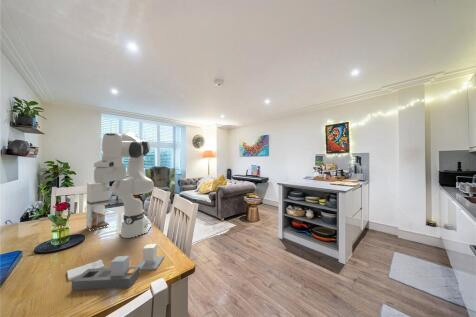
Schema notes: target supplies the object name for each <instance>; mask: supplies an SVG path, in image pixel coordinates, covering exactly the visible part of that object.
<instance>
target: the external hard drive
mask: <svg viewBox="0 0 476 317" xmlns="http://www.w3.org/2000/svg"><path fill="white" fill-rule="evenodd" d="M96 268H106V267H105V264H104V262H103V260H102V259H99V260H96V261H94V262H90V263H87V264H84V265H81V266H79V267H74V268H72V269H68V270H67V271H66V273H67V274H66V275H67V276H66V277H67V281H68V282H70V281H73V280H74V279H76V278H77V277H78V276H80V275H81V274H82V273H83V272H85V271H86V270H87V269H96Z"/></svg>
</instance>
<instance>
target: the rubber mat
mask: <svg viewBox="0 0 476 317" xmlns="http://www.w3.org/2000/svg"><path fill="white" fill-rule="evenodd" d="M164 258H165V256H156V258H155V259H154V262H153V263H152V264H145V261H143V258H142V259H141V260H140V262H139V263H138V264H136V266H135V267H140V272H141V271H156V270H157V269H158V268H159V266H160V265H161V263H162V262H163V260H164Z"/></svg>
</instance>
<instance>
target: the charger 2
mask: <svg viewBox="0 0 476 317" xmlns="http://www.w3.org/2000/svg"><path fill="white" fill-rule="evenodd" d="M156 257H158V243H148V244H147V243H146V245H144V247H143V248H142V259H143V261H145V264H152V263H153V262H154V259H155V258H156Z"/></svg>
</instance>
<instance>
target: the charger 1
mask: <svg viewBox="0 0 476 317" xmlns="http://www.w3.org/2000/svg"><path fill="white" fill-rule="evenodd" d="M129 267H130V255H121V256H119V255H118V256H116V257H114V259H113V260H111V261H110V268H111V276H124V275H125V274H126V273H127V271H128V270H129Z"/></svg>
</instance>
